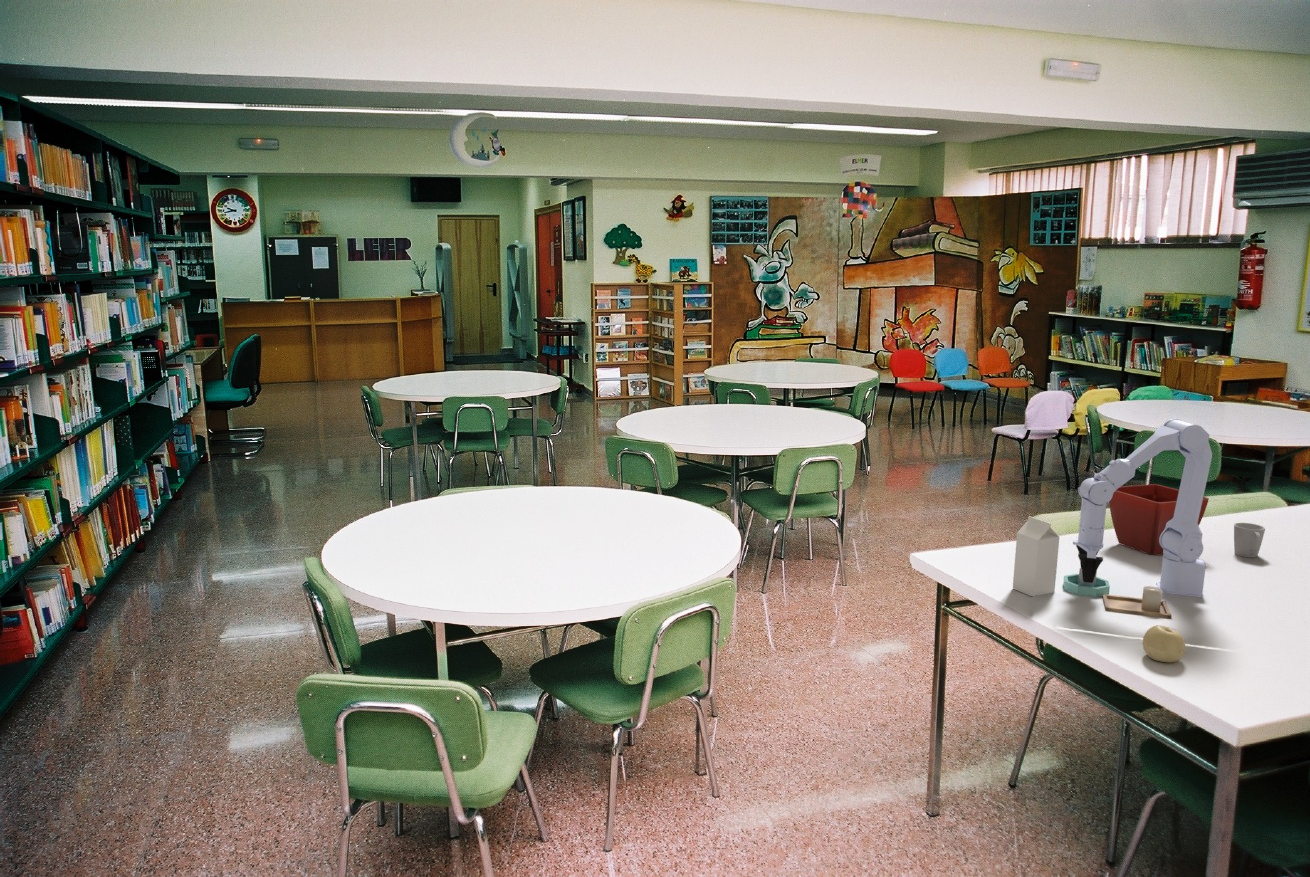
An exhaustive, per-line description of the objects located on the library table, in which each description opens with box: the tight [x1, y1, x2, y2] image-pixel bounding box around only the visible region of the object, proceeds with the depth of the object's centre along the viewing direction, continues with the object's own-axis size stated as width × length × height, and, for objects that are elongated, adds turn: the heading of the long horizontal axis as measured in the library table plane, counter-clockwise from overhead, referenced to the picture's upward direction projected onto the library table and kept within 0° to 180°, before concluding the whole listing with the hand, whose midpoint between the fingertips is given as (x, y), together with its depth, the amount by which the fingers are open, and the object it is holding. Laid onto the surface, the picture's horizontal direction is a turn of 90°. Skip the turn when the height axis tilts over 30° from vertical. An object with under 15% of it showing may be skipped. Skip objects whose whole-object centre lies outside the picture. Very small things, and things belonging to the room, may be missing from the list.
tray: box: [1101, 594, 1172, 619], centre depth 225 cm, size 14×10×1 cm
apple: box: [1142, 624, 1186, 663], centre depth 196 cm, size 8×8×8 cm
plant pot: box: [1108, 483, 1210, 556], centre depth 272 cm, size 19×19×17 cm
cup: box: [1233, 522, 1266, 558], centre depth 266 cm, size 8×10×8 cm
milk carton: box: [1012, 515, 1060, 598], centre depth 235 cm, size 7×7×19 cm
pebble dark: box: [1078, 567, 1098, 587], centre depth 237 cm, size 4×4×5 cm
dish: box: [1063, 573, 1111, 598], centre depth 237 cm, size 10×10×3 cm
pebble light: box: [1141, 585, 1163, 612], centre depth 223 cm, size 4×4×5 cm
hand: (1086, 577), depth 237 cm, fingers open, 7 cm apart
